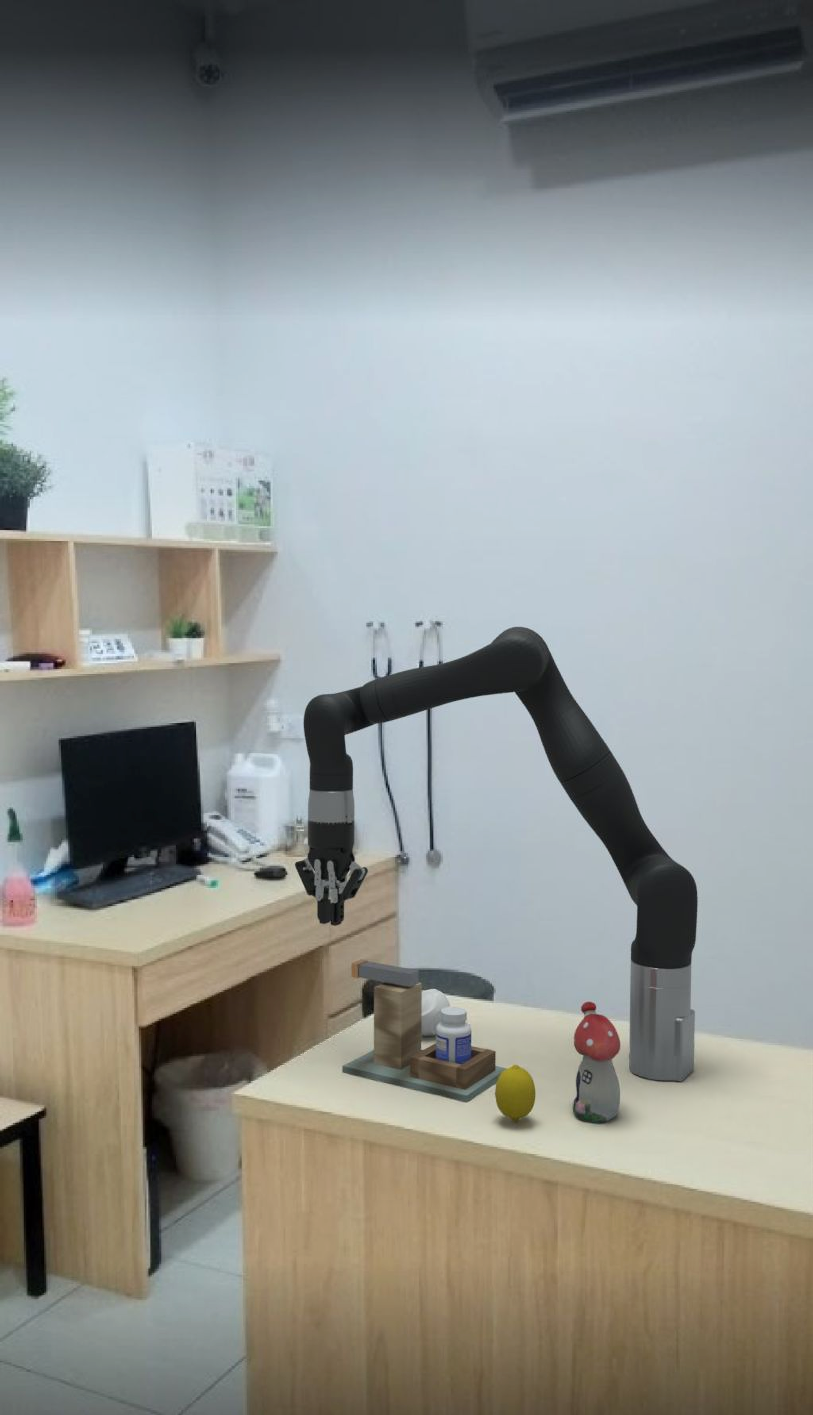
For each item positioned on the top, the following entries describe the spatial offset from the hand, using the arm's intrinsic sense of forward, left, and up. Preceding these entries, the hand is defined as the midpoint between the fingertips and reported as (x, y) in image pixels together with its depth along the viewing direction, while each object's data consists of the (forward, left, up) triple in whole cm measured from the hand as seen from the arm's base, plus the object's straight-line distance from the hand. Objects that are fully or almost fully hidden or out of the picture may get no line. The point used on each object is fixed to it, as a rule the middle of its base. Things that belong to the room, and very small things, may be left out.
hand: (330, 923), depth 185 cm
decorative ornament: (-46, 0, -21) cm, 51 cm away
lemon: (-38, +9, -21) cm, 44 cm away
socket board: (-18, 0, -21) cm, 28 cm away
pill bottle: (-23, 0, -20) cm, 31 cm away
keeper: (-11, 0, -8) cm, 13 cm away
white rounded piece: (-9, -16, -21) cm, 28 cm away
